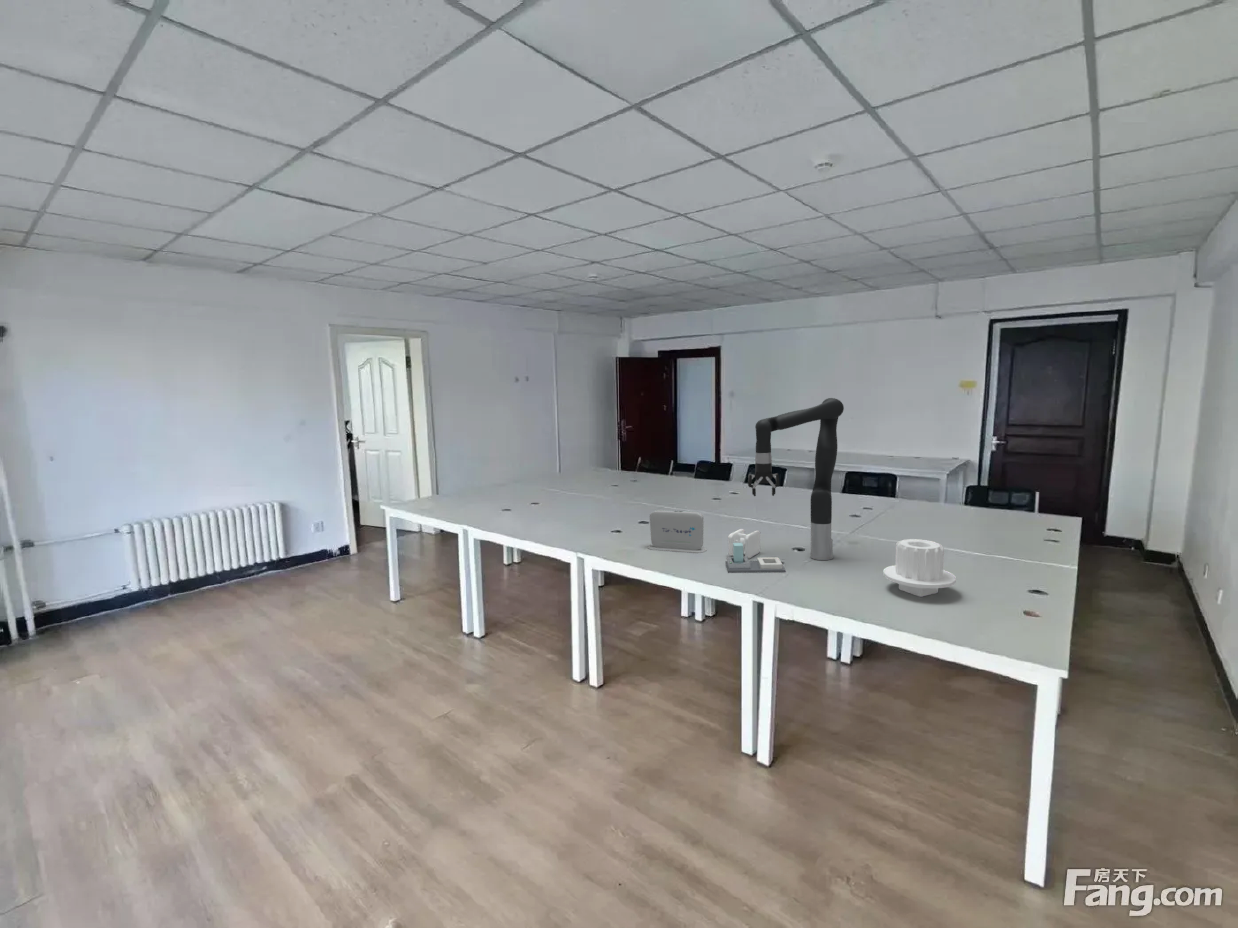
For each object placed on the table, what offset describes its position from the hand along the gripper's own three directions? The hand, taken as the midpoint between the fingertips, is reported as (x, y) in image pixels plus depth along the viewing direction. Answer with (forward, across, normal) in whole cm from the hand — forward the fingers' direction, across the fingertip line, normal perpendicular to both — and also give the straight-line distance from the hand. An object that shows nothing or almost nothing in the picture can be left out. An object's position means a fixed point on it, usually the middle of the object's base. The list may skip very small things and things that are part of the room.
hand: (763, 495), depth 270 cm
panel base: (+30, +7, +16) cm, 35 cm away
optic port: (+30, +14, +16) cm, 37 cm away
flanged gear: (+30, -52, +47) cm, 76 cm away
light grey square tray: (+30, 0, +16) cm, 34 cm away
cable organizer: (+30, +9, -4) cm, 32 cm away
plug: (+29, +14, +16) cm, 36 cm away
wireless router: (+30, +42, -16) cm, 54 cm away
